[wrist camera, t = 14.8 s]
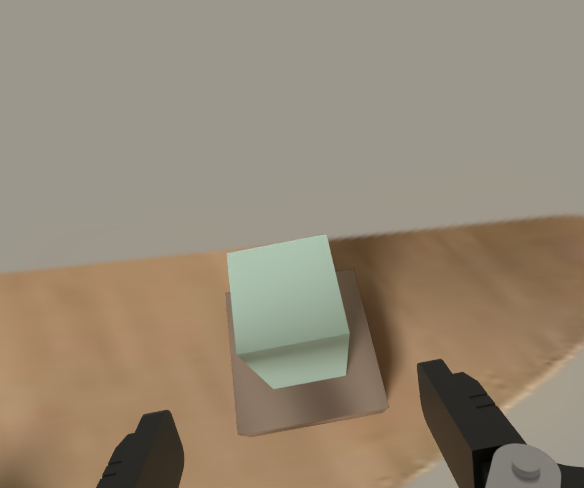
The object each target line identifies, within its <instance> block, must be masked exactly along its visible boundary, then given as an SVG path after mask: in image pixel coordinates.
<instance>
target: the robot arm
mask: <svg viewBox="0 0 584 488" xmlns="http://www.w3.org/2000/svg"><path fill="white" fill-rule="evenodd" d="M417 373H418V382H419V390H420V399H421V406H422V411H423V414H424V417H425V420H426V423H427V425H428V427H429V429H430V431H431V433H432V435H433V437H434V439H435V441H436V443H437V445H438V447H439V449H440V451H441V453H442V455H443V457H444V459H445V461H446V463H447V465H448V467H449V468H450V471H451V473H452V475H453V477H454V479H455V481H456V483H457V485H458V486H459V488H584V468H583V467H573V466H566V465H562V464H557V463H556V462H555V461H554V460H553V459H552V458H551V457H550V456H549V455H547V454H546V453H545V452H543V451H541V450H540V449H538V448H535V447H533V446H530V445H527V444H526V443H525V441H524V440H523V439H522V438H521V436H520V435H519V434H518V432H517V431H516V430H515V428H514V427H513V426H512V425H511V423H510V422H509V421H508V419H507V418H506V417H505V416H504V414H503V413H502V412H501V410H500V409H499V408H498V407H497V406H496V405H495V403H494V401H493V400H492V399H491V398H490V396H488V395H487V392H486V391H485V390H484V389H483V387H482V386H481V385H480V383H479V382H478V381H477V380H475V379H473V378H472V377H470V376H469V375H467V374H465V373H464V372H460V373H455V374H452V373H451V371H450V370H449V368H448V367H447V365H446V364H445V363H444V361H443V360H442V359H437V360H432V361H427V362H421V363H418V364H417ZM183 468H184V451H183V446H182V443H181V440H180V438H179V435H178V432H177V429H176V426H175V423H174V420H173V417H172V414H171V412H170V411H169V410H164V411H158V412H153V413H148V414H144V415H143V416H142V418H141V420H140V422H139V425H138V427H137V429H136V431H135V433H132V434H128V435H127V436H126V437H125V438H124V439H123V441H122V442H121V443H120V444H119V445H118V446H117V447H116V448H115V450H114V452H113V454H112V456H111V458H110V461H109V463H108V466H107V467H106V469H105V471H104V473H103V475H102V479H100V481H99V483H98V485H97V487H96V488H179V484H180V480H181V476H182V472H183Z"/></svg>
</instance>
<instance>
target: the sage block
mask: <svg viewBox="0 0 584 488" xmlns="http://www.w3.org/2000/svg"><path fill="white" fill-rule="evenodd" d="M227 262H228V273H229V283H230V293H231V304H232V314H233V324H234V335H235V345H236V355H237V356H238V357H239V358H240V359H242V360H243V361H244V362H245V363H246V364H247V365H248V366H249V367H250V368H251V369H252V370H253V371H254V372H256V373H257V374H258V375H259V376H260V377H261V378H262V379H263V380H264V381H265V382H266V383H267V384H268V385H269V386H271V387H272V388H273V389H277V388H283V387H288V386H293V385H299V384H304V383H309V382H314V381H320V380H325V379H330V378H336V377H341V376H346V369H347V358H348V347H349V335H350V332H349V328H348V324H347V320H346V315H345V311H344V307H343V303H342V298H341V294H340V290H339V285H338V281H337V277H336V273H335V268H334V264H333V260H332V256H331V251H330V247H329V243H328V239H327V234H324V235H319V236H313V237H308V238H303V239H298V240H293V241H288V242H283V243H277V244H272V245H267V246H262V247H257V248H252V249H247V250H241V251H236V252H231V253H227Z"/></svg>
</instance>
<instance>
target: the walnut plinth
mask: <svg viewBox="0 0 584 488" xmlns="http://www.w3.org/2000/svg"><path fill="white" fill-rule="evenodd" d="M335 273H336V277H337V281H338V285H339V290H340V294H341V298H342V303H343V307H344V311H345V315H346V320H347V324H348V328H349V332H350V335H349V347H348V358H347V369H346V376H341V377H336V378H330V379H325V380H320V381H314V382H309V383H304V384H299V385H293V386H288V387H283V388H277V389H273V388H272V387H271V386H269V385H268V384H267V383H266V382H265V381H264V380H263V379H262V378H261V377H260V376H259V375H258V374H257V373H256V372H254V371H253V370H252V369H251V368H250V367H249V366H248V365H247V364H246V363H245V362H244V361H243V360H242V359H240V358H239V357H238V356H237V355H236V345H235V335H234V324H233V314H232V304H231V293H230V292H227V293H225V294H226V305H227V316H228V328H229V339H230V351H231V362H232V373H233V385H234V396H235V407H236V419H237V430H238V435H242V436H248V437H254V436H259V435H264V434H270V433H275V432H281V431H286V430H292V429H297V428H303V427H308V426H313V425H319V424H324V423H330V422H335V421H341V420H346V419H352V418H357V417H362V416H368V415H373V414H379V413H383V412H384V411H385V410H386V409H388V408H389V405H388V401H387V397H386V393H385V389H384V385H383V381H382V377H381V374H380V370H379V366H378V362H377V358H376V354H375V350H374V346H373V342H372V338H371V335H370V331H369V327H368V323H367V319H366V315H365V311H364V307H363V303H362V299H361V295H360V292H359V288H358V284H357V280H356V276H355V272H354V268H353V269H348V270H343V271H337V272H335Z"/></svg>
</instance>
